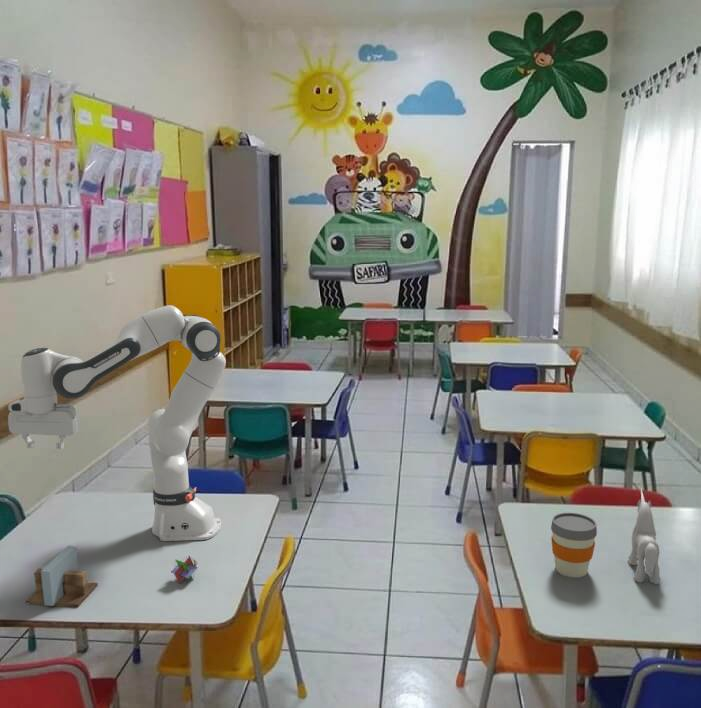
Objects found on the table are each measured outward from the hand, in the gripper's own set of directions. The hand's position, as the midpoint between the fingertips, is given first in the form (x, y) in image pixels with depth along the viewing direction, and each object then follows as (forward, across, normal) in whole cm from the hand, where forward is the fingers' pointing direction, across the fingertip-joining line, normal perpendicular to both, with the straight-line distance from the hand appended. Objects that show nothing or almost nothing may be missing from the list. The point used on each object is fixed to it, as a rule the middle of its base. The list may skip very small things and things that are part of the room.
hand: (45, 448), depth 210 cm
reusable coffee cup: (+34, -155, -7) cm, 159 cm away
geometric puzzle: (+34, -45, +11) cm, 58 cm away
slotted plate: (+33, -14, +22) cm, 42 cm away
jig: (+34, -14, +22) cm, 43 cm away
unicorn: (+34, -176, -11) cm, 179 cm away
